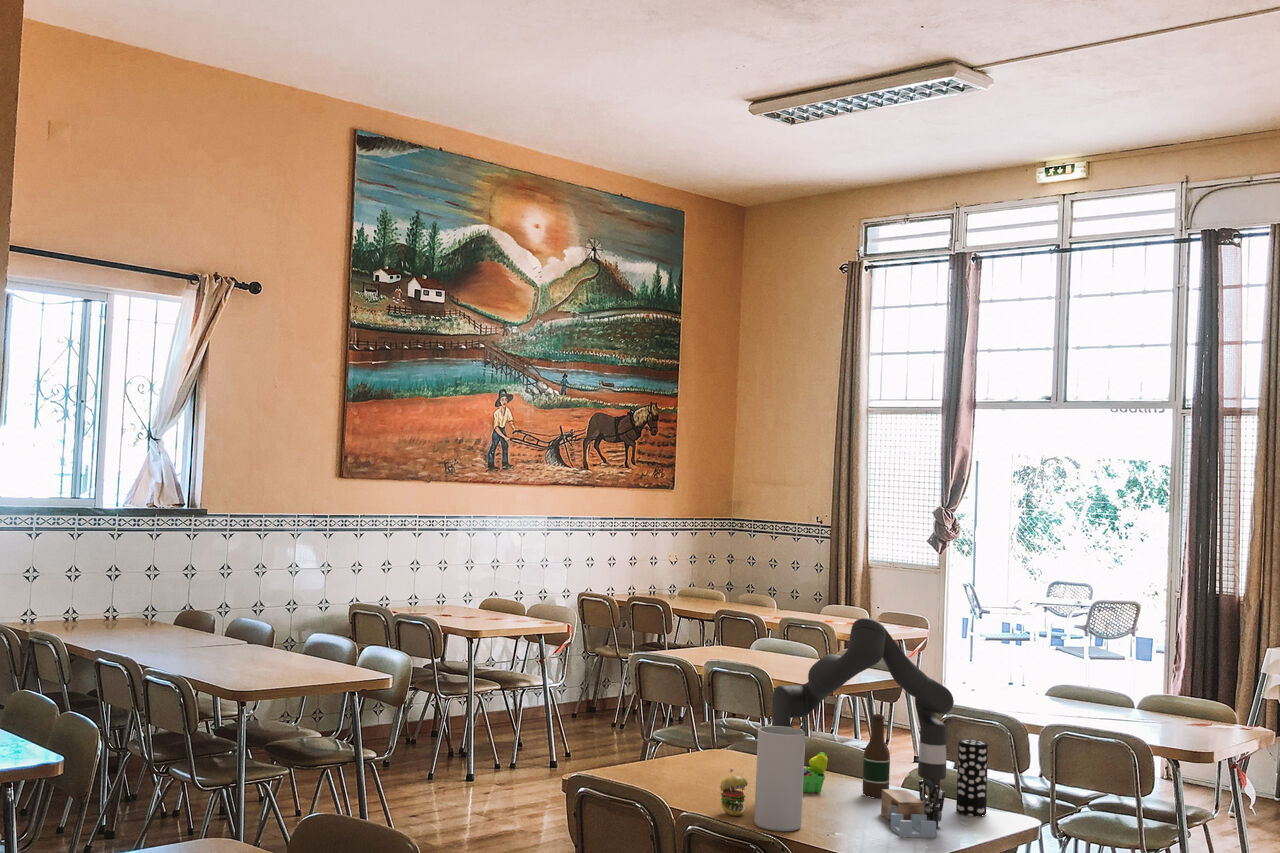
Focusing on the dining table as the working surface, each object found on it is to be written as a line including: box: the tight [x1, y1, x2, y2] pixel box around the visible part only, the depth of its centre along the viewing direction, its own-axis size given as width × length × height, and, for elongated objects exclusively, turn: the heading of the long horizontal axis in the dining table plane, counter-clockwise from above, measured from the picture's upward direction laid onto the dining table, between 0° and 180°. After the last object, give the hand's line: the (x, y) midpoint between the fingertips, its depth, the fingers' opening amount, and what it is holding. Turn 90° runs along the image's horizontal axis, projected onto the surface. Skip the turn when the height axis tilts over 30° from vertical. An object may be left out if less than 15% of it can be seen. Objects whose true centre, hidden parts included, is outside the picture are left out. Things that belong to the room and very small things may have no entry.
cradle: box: [890, 813, 937, 838], centre depth 307 cm, size 10×8×4 cm
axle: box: [887, 805, 943, 823], centre depth 316 cm, size 14×4×4 cm, turn 98°
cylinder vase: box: [753, 725, 806, 832], centre depth 308 cm, size 12×12×25 cm
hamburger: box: [719, 768, 748, 817], centre depth 318 cm, size 8×7×12 cm
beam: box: [880, 788, 924, 821], centre depth 319 cm, size 7×14×7 cm, turn 7°
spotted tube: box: [955, 738, 989, 817], centre depth 333 cm, size 8×8×20 cm
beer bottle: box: [862, 713, 891, 799], centre depth 349 cm, size 8×8×24 cm
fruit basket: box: [803, 751, 829, 794], centre depth 352 cm, size 11×9×11 cm
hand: (930, 823), depth 316 cm, fingers closed on axle, 4 cm apart
